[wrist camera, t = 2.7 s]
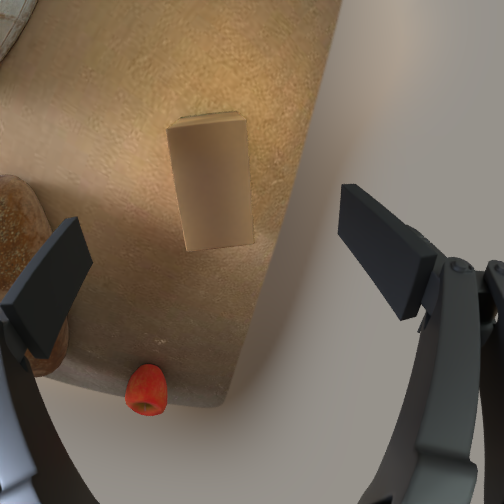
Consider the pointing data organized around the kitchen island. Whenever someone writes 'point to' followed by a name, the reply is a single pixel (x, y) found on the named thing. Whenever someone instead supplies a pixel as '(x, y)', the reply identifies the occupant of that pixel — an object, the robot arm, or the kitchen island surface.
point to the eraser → (212, 179)
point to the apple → (147, 391)
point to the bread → (25, 253)
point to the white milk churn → (13, 21)
